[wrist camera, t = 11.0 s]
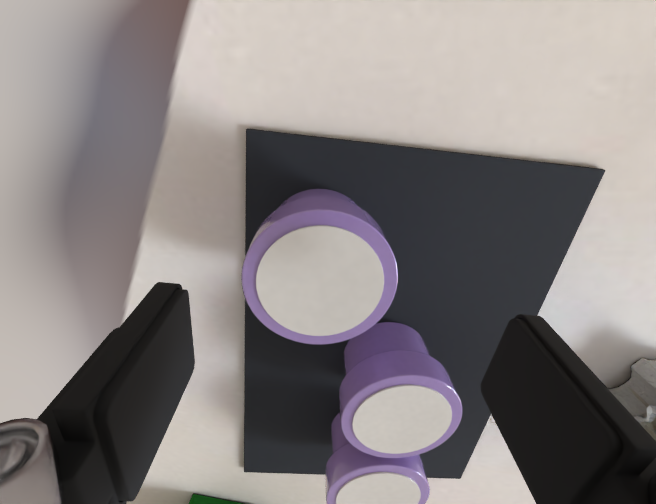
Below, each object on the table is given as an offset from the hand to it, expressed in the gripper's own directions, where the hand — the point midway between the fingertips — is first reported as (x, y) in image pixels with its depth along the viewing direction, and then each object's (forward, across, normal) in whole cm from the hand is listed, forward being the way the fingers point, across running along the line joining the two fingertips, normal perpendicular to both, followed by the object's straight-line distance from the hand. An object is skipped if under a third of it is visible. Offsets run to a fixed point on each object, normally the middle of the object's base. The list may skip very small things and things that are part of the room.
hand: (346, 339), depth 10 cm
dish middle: (+9, -4, +9) cm, 13 cm away
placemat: (+9, -4, +9) cm, 13 cm away
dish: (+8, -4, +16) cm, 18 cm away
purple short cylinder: (+9, +1, +1) cm, 9 cm away
